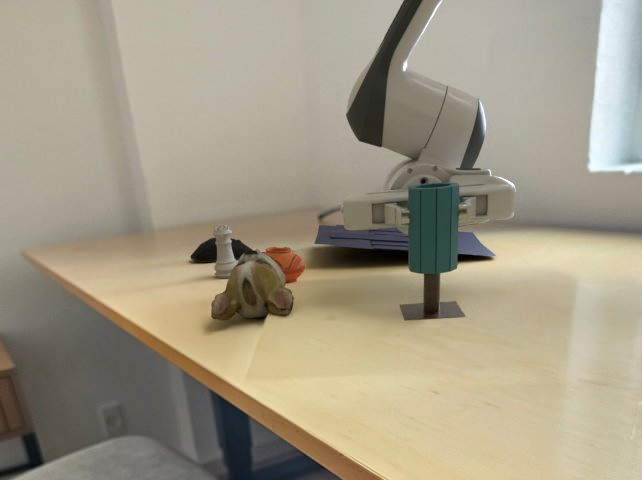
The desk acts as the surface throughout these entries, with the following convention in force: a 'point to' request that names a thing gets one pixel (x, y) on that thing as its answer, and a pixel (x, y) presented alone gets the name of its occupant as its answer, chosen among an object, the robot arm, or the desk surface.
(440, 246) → the teal grooved cylinder
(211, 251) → the gaming mouse
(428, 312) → the stand
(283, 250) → the pot
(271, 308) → the ceramic sculpture
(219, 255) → the rook chess piece
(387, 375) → the desk surface
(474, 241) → the papers
